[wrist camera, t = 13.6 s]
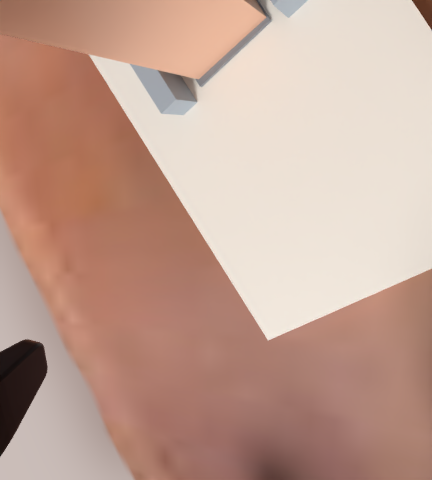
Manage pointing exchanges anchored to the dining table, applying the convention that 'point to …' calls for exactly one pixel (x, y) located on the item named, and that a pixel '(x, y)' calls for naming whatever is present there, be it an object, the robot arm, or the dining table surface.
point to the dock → (301, 153)
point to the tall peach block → (137, 29)
